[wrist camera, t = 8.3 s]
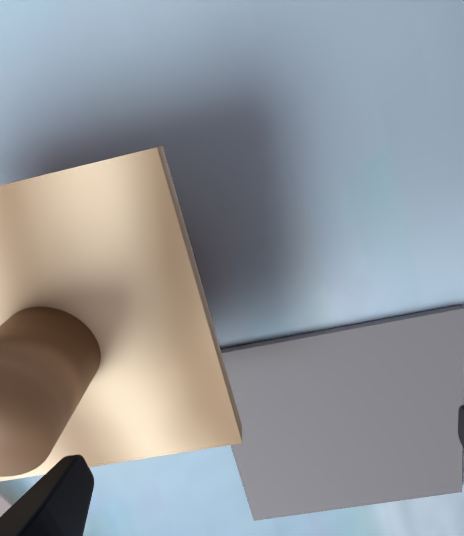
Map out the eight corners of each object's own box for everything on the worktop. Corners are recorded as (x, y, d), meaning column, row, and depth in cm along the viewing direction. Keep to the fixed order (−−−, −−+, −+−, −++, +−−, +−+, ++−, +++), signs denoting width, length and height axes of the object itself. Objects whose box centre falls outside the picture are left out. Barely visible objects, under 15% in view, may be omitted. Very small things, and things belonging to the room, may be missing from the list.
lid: (163, 145, 12) (117, 157, 8) (242, 425, 17) (244, 538, 12) (-164, 225, 13) (-375, 277, 9) (-6, 465, 18) (-90, 582, 13)
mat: (460, 304, 20) (464, 308, 20) (458, 486, 25) (462, 491, 25) (203, 352, 21) (203, 356, 21) (253, 515, 27) (253, 520, 26)
